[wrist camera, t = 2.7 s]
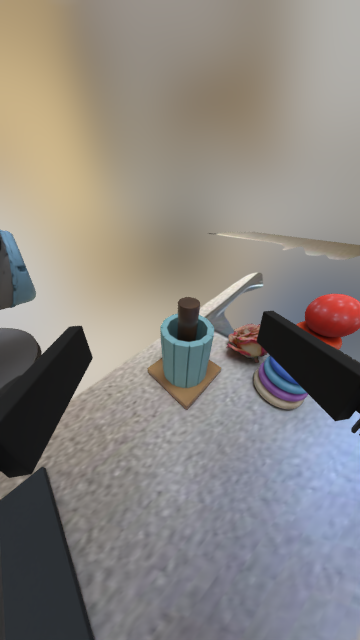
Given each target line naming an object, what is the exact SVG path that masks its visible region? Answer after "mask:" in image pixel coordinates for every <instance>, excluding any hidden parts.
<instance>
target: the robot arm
mask: <svg viewBox="0 0 360 640" xmlns="http://www.w3.org/2000/svg"><path fill="white" fill-rule="evenodd" d="M35 296H36V291H35V288H34V286H33V283H32V281H31V278H30V276H29V273H28V271H27V269H26V266H25V264H24V261H23V258H22V256H21V253H20V251H19V249H18V246H17V244H16V242H15V239H14V237H13V235H12V234H11V233H10V232H8V231H2V230H0V310H1V309H5V308H12V307H15V306H16V305H19V304H22V303H26V302H29V301H32V300H33V299H34V298H35ZM256 342H257V343H258V344H259V345H260V346H261V347H262V348H263V349H264V350H265V351H266V352H267V353H269V355H270V356H271V357H272V358H273V359H274V360H275V361H276V362H277V363H278V364H279V365H280V366H281V367H282V368H283V369H284V370H285V371H286V372H287V373H288V374H289V375H290V376H291V377H292V378H293V379H294V380H295V381H296V382H297V383H298V384H299V385H300V386H301V387H302V388H303V389H304V390H305V391H306V392H307V393H308V394H309V395H310V396H311V397H312V398H313V399H314V400H315V401H316V402H317V403H318V404H319V405H320V406H321V407H322V408H323V409H324V410H325V411H326V412H327V413H328V414H329V415H330V416H331V417H332V418H333V419H334V420H335V421H339V420H345V419H349V418H350V417H351V416H352V415H353V413H354V412H355V411H357V412H358V413H360V363H359V362H358V361H356V360H354V359H352V358H351V357H350V356H348V355H346V354H344V353H343V352H341V351H340V350H338V349H336V348H335V347H333V346H330V345H328V344H326V343H325V342H323V341H321V340H320V339H318V338H317V337H315V336H313V335H312V334H310V333H308V332H307V331H305V330H303V329H302V328H300V327H299V326H297V325H295V324H293V323H292V322H290V321H289V320H287V319H285V318H284V317H282V316H281V315H279V314H277V313H276V312H274V311H265V312H263V316H262V320H261V324H260V328H259V332H258V336H257V340H256ZM91 360H92V354H91V352H90V349H89V346H88V343H87V340H86V337H85V334H84V331H83V328H82V326H72V327H69V328H68V329H67V330H66V331H65V332H64V333H63V334H62V335H61V336H60V337H59V338H58V339H57V340H56V341H55V342H54V343H53V344H52V345H51V346H50V347H49V348H48V349H47V350H46V351H45V352H44V353H43V354H42V355H41V356H40V357H39V358H38V359H37V360H36V361H35V362H34V363H33V364H32V365H31V366H30V367H29V368H28V369H27V370H26V371H25V373H24V374H23V375H19V376H17V377H15V378H14V379H12V380H11V381H9V382H8V383H6V384H5V385H4V386H3V387H2V388H1V389H0V471H1V472H3V473H4V474H5V475H6V476H7V477H9V478H12V477H17V476H23V475H29V474H32V472H33V470H34V469H35V467H36V465H37V463H38V461H39V459H40V457H41V455H42V453H43V451H44V450H45V448H46V446H47V444H48V442H49V440H50V438H51V436H52V434H53V432H54V431H55V429H56V427H57V425H58V423H59V421H60V419H61V417H62V415H63V413H64V412H65V410H66V408H67V406H68V404H69V402H70V400H71V398H72V396H73V394H74V392H75V391H76V389H77V386H78V385H79V383H80V381H81V379H82V377H83V375H84V373H85V371H86V370H87V368H88V366H89V364H90V362H91ZM359 428H360V419H359V420H358V421H357V422H356V423H355V425H354V426H353V427H352V432H353V433H356V431H357V430H358V429H359ZM359 435H360V434H359ZM0 640H5V622H4V604H3V586H2V569H1V551H0Z"/></svg>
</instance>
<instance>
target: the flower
mask: <svg viewBox="0 0 360 640" xmlns="http://www.w3.org/2000/svg"><path fill="white" fill-rule="evenodd" d="M259 325H260V324H259ZM259 325H258V326H257V325H254V324H248V325H245V326H242V327H240V328H237V329H234V334H230V335H229V342H232V343H234V344H235V345H236V346H237V348H236V347H234V346H232V345H231V344H229V343H228V344H227V345H228V346H227V347H230V348H233V349H234V350H235V351H238V352H240V353H241V354H242V355H245V356H246V357H248V358H252V357H254V360H255V362H256V363H259V360H258V356H260V357H261V356H264V355H266V354H267V352H266V351H265V350H264V349H263V348H262V347H261V346H260V345H259V344H258V343H257V342H256V340H257V336H258V332H259V328H260V326H259ZM236 339H237V340H236Z"/></svg>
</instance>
